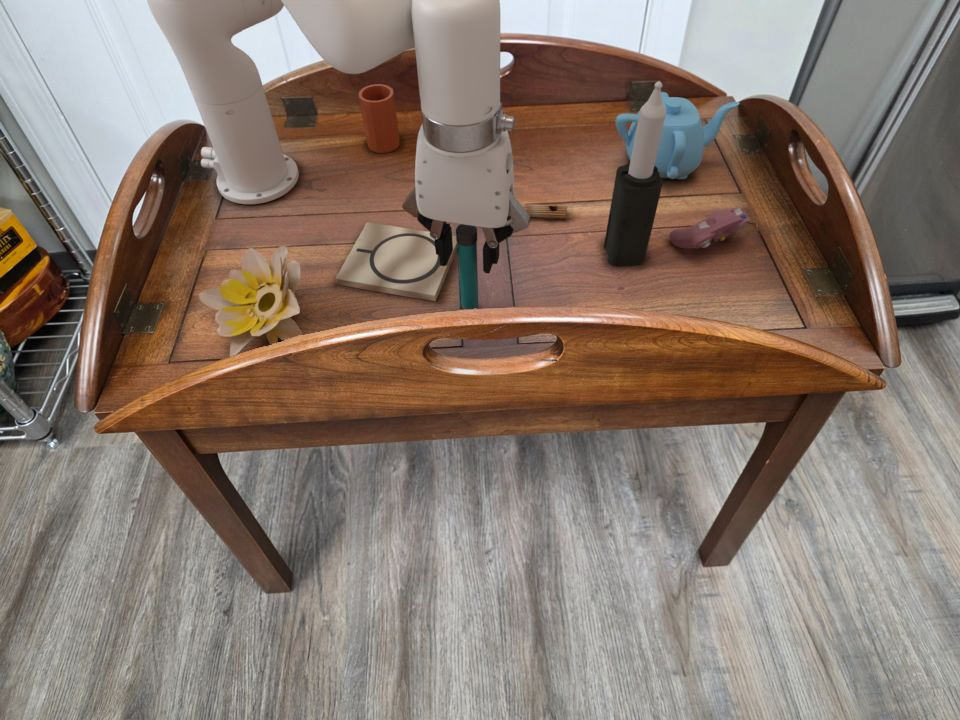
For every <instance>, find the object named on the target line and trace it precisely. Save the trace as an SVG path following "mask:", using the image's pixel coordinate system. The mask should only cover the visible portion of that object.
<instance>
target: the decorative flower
mask: <svg viewBox="0 0 960 720" xmlns="http://www.w3.org/2000/svg"><path fill="white" fill-rule="evenodd" d="M288 254H289V250H288V247H287V246H285V245H280V246H278V247H277V249H276V250H275V251H274V252H273V254H272V255H271V259H270V261H269V263H268V260H267V259H266V258H265V257H264V256H263V255H262V254H261V253H259V251H257V250H256V249H255V248H253V247H249V248H248V249H247V250H246V252H245V253H244V254H243V255H242V258H241V263H240V265H241V269H237V268H236V269H234V268H232V269H231V270H230V271H229V273H228V278H225V279H224V280H223V281H222V282H220V284H219V286H216V287H213V288H210V289H206V290H204V291H201V292H199V293H198V297H199V301H200V302H202V303H203V305H205V306H207V307H209V308H211V309H213V310H215V311H217V312H216V313H215V318H214V322H215V323H216V324H217V325H218V327H217V329H216V332H217V334H218V336H219V337H225V338H226V337H230V345H229V346H230V347H229V358H230V357H231V356H233V355H236V354H237V355H239V353H241V352H242V351H243V350H244V349H245V348H246V347H247V346H248V345H249V344H250V343H251V341H252V340H253V339H254V338H255V337H260V336H262V335H264V334H265V335H266V338H267V341H268V343H269V344H270V345H271V344H272V343H275V342H277V343H278V340H279V339H280V340H281V341H284V340H285V339H288V338H292V337H295V336H298V335H302V334H303V332H302V330H301V328H300V327H299V326H298V324H297V323H296V321H295V320H293V318H291V317H293V316H296V315H298V314H300V312H301V309H300V305H299V302H298V299H297V297H298V296H297V295H295V294H294V293H296V290H297V289H298V285H299V284H300V279H301V267H300V262H298V261H296V260H295V259H293V260H290V261H289V262H288V263H286V261H287V257H288ZM237 355H236V356H237Z"/></svg>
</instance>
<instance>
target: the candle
mask: <svg viewBox="0 0 960 720" xmlns="http://www.w3.org/2000/svg"><path fill="white" fill-rule="evenodd" d="M662 88H663V83H662V82H661V81H660V80H658V81H656V82H655V83H654V89H653V90H652V93H651V94H650V96H649V97H648V100H647V101H646V102H644V104H643V105H642V106H641V107H640V110H639V111H640V113H639V119H638V124H637V129H636V135H635V140H634V145H633V150H632V156H631V161H629V162H627V163H626V164H624V165H620V166H618V167H617V169H616V171H615V172H616V173H615V177H614V183H613V184H614V185H613V189H612V190H613V191H612V196H611V202H610V207H609V214H608V220H607V225H606V231H605V238H604V243H603V249H604V250H605V252H606V256H607V262H608V264H609V265H611V266H613V267H626V266H639V265H642V264H644V263H645V260H646V256H647V251H648V247H649V243H650V239H651V235H652V230H653V227H654V222H655V219H656V215H657V210H658V206H659V201H660V197H661V193H662V188H663V185H664V183H663V180H662V178H661V177H660V175H659V174H660V173H659V172H658V168H657V167H656V166H655V160H656V156H657V151H658V147H659V142H660V138H661V133H662V129H663V124H664V120H665V115H666V109H665V107H664V105H663V103H662V96H661V92H662Z"/></svg>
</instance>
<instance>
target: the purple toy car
mask: <svg viewBox="0 0 960 720" xmlns="http://www.w3.org/2000/svg"><path fill="white" fill-rule="evenodd" d="M750 223H751V218H749V217H748V214H747V213H746V212H745V211H743V209H741V207H734V208H730V209H726V210H717V211H714V212H712V213H711V214H710V215H709V216H708V217H706V218H704V219H702V220H700V221H698V222H696V223H694V224H693V225H691V226H689V227H685V228H675V229H673V230H672V231H670V233H669V241H670V243H671V244H672V245H674V246H675V247H678V248H682V249H688V248H689V249H690V248H692V249H694V248H695V250H698V249H700V248H701V249H702V248H703V249H706V248H708V247H709V246H710V245H711V243H712V240H713V242H714V243H716V242H718V241H720V242H723V241H724V240H726V238H727V237H728V236H730V235H731V234H734V233H735V232H737V231H739V230H742V229H743V228H744V227H745V226H747V225H748V224H750Z"/></svg>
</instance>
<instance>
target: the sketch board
mask: <svg viewBox="0 0 960 720" xmlns="http://www.w3.org/2000/svg"><path fill="white" fill-rule="evenodd" d="M452 242H453V252H452V254H451V256H450V259H449V261H448V264H447V266H446V265H445V266H440V258H439V255H436V250H435V240H434V239H433V238H432V237H431V236H430V231H429V230H422V229H421V230H420V229H414V228H408V227H401V226H394V225H388V224H384V223H383V224H381V223H375V222H371V221H370V222H369V221H367V222H366V223H365V225H364V226H363V228H362V229H361V232H360V233H359V236H358V237H357V239H356V241H355V243H354V244H353V247H352V248H351V249H350V252H349V253H348V255H347V257H346V259H345V261H344V262H343V264H342V266H341V268H340V269H339V271H338V273H337V275H336V276H335V282H336V285H337V286H343V287H349V288H353V289H354V288H355V289H359V290H366V291H373V292H376V293H377V292H378V293H385V294H389V295H395V296H400V297H401V296H402V297H407V298H412V299H419V300H424V301H429V302H437V299H438V297H439V294H440V293H441V289H442V287H443V284H444V282H445V280H446V277H447V275H448V272H449V270H450V267H451V265H452V263H453V260H454V257H455V255H456V252H457V251H458V243H457V240H456V235H453V234H452Z"/></svg>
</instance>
